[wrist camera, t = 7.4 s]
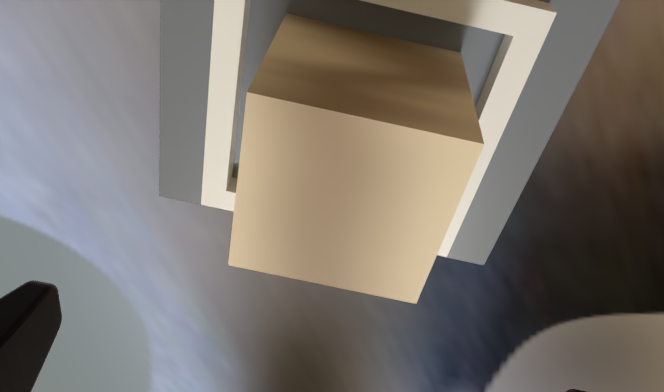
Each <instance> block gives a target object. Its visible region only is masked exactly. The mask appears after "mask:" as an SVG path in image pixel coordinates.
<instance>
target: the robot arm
mask: <svg viewBox="0 0 664 392" xmlns="http://www.w3.org/2000/svg"><path fill="white" fill-rule="evenodd" d="M61 320H62V314H61V307H60V301H59V295H58V290H57V287H56V286H55V285H53V284H50V283H45V282H40V281H29V282H26V283H24V284H23V285H21V286H20V287H18V288H16V289H15V290H13V291H11V292H10V293H8V294H6V295H5V296H3V297H2V298H0V392H31V391H32V388H33V386H34V384H35V382H36V380H37V377H38V375H39V373H40V370H41V368H42V366H43V364H44V362H45V359H46V357H47V355H48V353H49V351H50V348H51V346H52V344H53V342H54V339H55V337H56V335H57V332H58V330H59V328H60V324H61ZM566 392H585V391H580V390H575V389H570V390H568V391H566Z"/></svg>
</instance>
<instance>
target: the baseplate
mask: <svg viewBox="0 0 664 392" xmlns="http://www.w3.org/2000/svg"><path fill="white" fill-rule="evenodd" d="M619 2H620V0H161V5H160V168H159V196H161V197H166V198H171V199H176V200H180V201H185V202H190V203H194V204H199V205H204V206H208V207H213V208H218V209H222V210H227V211H232V212H234V206H235V197H236V188H237V179H238V169H239V160H240V151H241V141H242V132H243V123H244V114H245V104H246V95H247V91H248V89H249V87H250V85H251V83H252V81H253V79H254V77H255V75H256V73H257V71H258V69H259V67H260V65H261V63H262V61H263V59H264V57H265V55H266V53H267V51H268V49H269V47H270V45H271V43H272V41H273V39H274V37H275V35H276V33H277V31H278V29H279V27H280V25H281V23H282V21H283V19H284V17H285V15H286V13H287V14H292V15H296V16H301V17H305V18H309V19H314V20H318V21H323V22H327V23H332V24H336V25H340V26H345V27H349V28H354V29H358V30H363V31H367V32H372V33H376V34H380V35H385V36H389V37H394V38H398V39H403V40H407V41H411V42H416V43H420V44H425V45H429V46H434V47H438V48H442V49H447V50H451V51H456V52H460V53H461V55H462V59H463V63H464V67H465V71H466V75H467V79H468V83H469V86H470V90H471V94H472V98H473V102H474V106H475V110H476V113H477V117H478V121H479V125H480V129H481V133H482V137H483V141H484V146H483V149H482V151H481V153H480V156H479V158H478V160H477V163H476V165H475V167H474V170H473V172H472V174H471V177H470V179H469V181H468V184H467V186H466V188H465V191H464V193H463V195H462V198H461V200H460V202H459V205H458V207H457V209H456V212H455V214H454V216H453V219H452V221H451V223H450V226H449V228H448V230H447V233H446V235H445V237H444V240H443V242H442V244H441V247H440V249H439V251H438V254H437V255H438V256H443V257H447V258H452V259H457V260H461V261H466V262H471V263H475V264H480V265H484V264H485V262H486V260H487V258H488V256H489V254H490V252H491V250H492V248H493V247H494V245H495V243H496V241H497V239H498V237H499V235H500V233H501V231H502V229H503V227H504V225H505V223H506V221H507V219H508V217H509V216H510V214H511V212H512V210H513V208H514V206H515V204H516V202H517V200H518V198H519V196H520V194H521V192H522V190H523V188H524V186H525V184H526V183H527V181H528V179H529V177H530V175H531V173H532V171H533V169H534V167H535V165H536V163H537V161H538V159H539V157H540V155H541V153H542V152H543V150H544V148H545V146H546V144H547V142H548V140H549V138H550V136H551V134H552V132H553V130H554V128H555V126H556V124H557V122H558V120H559V119H560V117H561V115H562V113H563V111H564V109H565V107H566V105H567V103H568V101H569V99H570V97H571V95H572V93H573V91H574V89H575V88H576V86H577V84H578V82H579V80H580V78H581V76H582V74H583V72H584V70H585V68H586V66H587V64H588V62H589V60H590V58H591V56H592V55H593V53H594V51H595V49H596V47H597V45H598V43H599V41H600V39H601V37H602V35H603V33H604V31H605V29H606V27H607V25H608V24H609V22H610V20H611V18H612V16H613V14H614V12H615V10H616V8H617V6H618V4H619Z"/></svg>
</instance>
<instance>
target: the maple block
mask: <svg viewBox="0 0 664 392" xmlns="http://www.w3.org/2000/svg"><path fill="white" fill-rule="evenodd" d="M483 146H484V141H483V137H482V133H481V129H480V125H479V121H478V117H477V113H476V110H475V106H474V102H473V98H472V94H471V90H470V86H469V83H468V79H467V75H466V71H465V67H464V63H463V59H462V55H461V53H460V52H456V51H451V50H447V49H442V48H438V47H434V46H429V45H425V44H420V43H416V42H411V41H407V40H403V39H398V38H394V37H389V36H385V35H380V34H376V33H372V32H367V31H363V30H358V29H354V28H349V27H345V26H340V25H336V24H332V23H327V22H323V21H318V20H314V19H309V18H305V17H301V16H296V15H292V14H287V13H286V15H285V17H284V19H283V21H282V23H281V25H280V27H279V29H278V31H277V33H276V35H275V37H274V39H273V41H272V43H271V45H270V47H269V49H268V51H267V53H266V55H265V57H264V59H263V61H262V63H261V65H260V67H259V69H258V71H257V73H256V75H255V77H254V79H253V81H252V83H251V85H250V87H249V89H248V91H247V95H246V104H245V114H244V123H243V132H242V141H241V151H240V160H239V169H238V179H237V188H236V197H235V206H234V216H233V225H232V234H231V243H230V253H229V262H228V265H230V266H235V267H240V268H245V269H249V270H254V271H259V272H264V273H269V274H274V275H279V276H283V277H288V278H293V279H298V280H303V281H308V282H313V283H318V284H322V285H327V286H332V287H337V288H342V289H347V290H352V291H356V292H361V293H366V294H371V295H376V296H381V297H386V298H390V299H395V300H400V301H405V302H410V303H415V304H416V303H417V300H418V298H419V296H420V293H421V291H422V289H423V286H424V284H425V282H426V279H427V277H428V275H429V272H430V270H431V268H432V265H433V263H434V261H435V258H436V256H437V254H438V251H439V249H440V247H441V244H442V242H443V240H444V237H445V235H446V233H447V230H448V228H449V226H450V223H451V221H452V219H453V216H454V214H455V212H456V209H457V207H458V205H459V202H460V200H461V198H462V195H463V193H464V191H465V188H466V186H467V184H468V181H469V179H470V177H471V174H472V172H473V170H474V167H475V165H476V163H477V160H478V158H479V156H480V153H481V151H482V149H483Z"/></svg>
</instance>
